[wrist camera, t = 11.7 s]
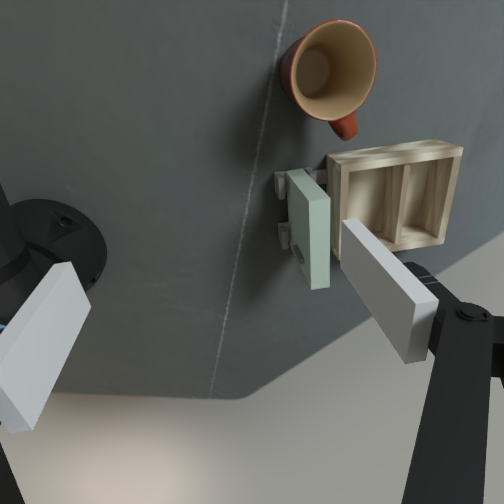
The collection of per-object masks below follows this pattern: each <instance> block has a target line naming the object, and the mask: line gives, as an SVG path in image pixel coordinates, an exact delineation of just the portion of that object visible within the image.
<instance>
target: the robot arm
mask: <svg viewBox="0 0 504 504" xmlns="http://www.w3.org/2000/svg"><path fill="white" fill-rule="evenodd" d="M106 261H107V248H106V244H105V241H104V238H103V236H102V234H101V233H100V231H99V229H98V228H97V227H96V226H95V224H94V223H93V222H92V221H91V220H90V219H89V218H88V217H86V216H85V215H84V214H82V213H81V212H79V211H78V210H76V209H74V208H72V207H70V206H68V205H66V204H63V203H60V202H56V201H52V200H45V199H32V200H25V201H21V202H18V203H16V204H13V205H12V206H10V205H9V203H8V200H7V198H6V196H5V193H4V191H3V189H2V186H1V184H0V424H2V426H3V427H4V428H5V429H6V430H7V432H8V433H9V434H14V433H19V432H25V431H31V430H33V428H34V426H35V424H36V422H37V420H38V418H39V416H40V414H41V412H42V409H43V407H44V405H45V403H46V401H47V399H48V397H49V395H50V393H51V391H52V388H53V386H54V384H55V382H56V380H57V378H58V376H59V374H60V372H61V369H62V367H63V365H64V363H65V361H66V359H67V357H68V355H69V353H70V351H71V348H72V346H73V344H74V342H75V340H76V338H77V336H78V334H79V332H80V329H81V327H82V325H83V323H84V321H85V319H86V317H87V315H88V313H89V311H90V308H91V306H90V303H89V301H88V299H87V297H86V294H85V292H86V291H87V290H88V289H90V288H91V287H92V286H93V285H94V284H95V283H96V282H97V280H98V279H99V277H100V275H101V273H102V271H103V269H104V267H105V265H106ZM340 268H341V269H342V271H343V272H344V274H345V275H346V277H347V278H348V280H349V281H350V283H351V284H352V286H353V287H354V289H355V290H356V291H357V293H358V294H359V296H360V297H361V299H362V300H363V302H364V303H365V305H366V306H367V308H368V309H369V311H370V312H371V314H372V315H373V317H374V318H375V320H376V321H377V323H378V324H379V326H380V327H381V328H382V330H383V332H384V333H385V335H386V336H387V338H388V339H389V341H390V342H391V344H392V345H393V346H394V348H395V349H396V351H397V352H398V354H399V355H400V357H401V358H402V360H403V361H404V363H405V364H408V363H413V362H419V361H425V360H426V356H427V352H428V348H429V350H430V351H431V352H432V353H433V355H434V356H435V361H434V365H433V369H432V373H431V378H430V382H429V386H428V391H427V395H426V400H425V404H424V408H423V412H422V417H421V421H420V425H419V430H418V434H417V438H416V443H415V447H414V451H413V455H412V460H411V464H410V468H409V473H408V477H407V481H406V486H405V490H404V495H403V499H402V503H401V504H483V497H484V481H485V463H486V447H487V430H488V413H489V397H490V380H491V377H499V378H500V379H501V382H502V385H503V388H504V317H503V316H492V315H491V314H490V313H489V312H488V311H487V310H486V309H484V308H482V307H481V306H478V305H475V304H472V303H466V302H461V301H460V300H458V299H457V298H456V297H455V296H454V295H453V294H452V293H451V292H450V291H449V290H448V289H447V288H445V287H444V286H443V285H442V284H441V283H440V282H438V280H437V279H435V277H433V276H432V275H431V274H430V273H429V272H428V271H427V270H426V269H425V268H424V267H422V266H420V265H418V264H416V263H414V262H406V263H401V262H400V261H399V260H398V259H397V258H396V257H395V256H394V255H393V254H392V253H391V252H390V251H389V250H388V249H387V248H386V247H385V246H384V245H383V244H382V243H381V242H380V241H379V240H378V239H377V238H376V237H375V236H374V235H373V234H372V233H371V232H370V231H369V230H368V229H367V228H366V227H365V226H364V225H363V224H362V223H361V222H360V221H359V220H358V219H357V218H354V219H347V220H342V227H341V259H340ZM0 504H25V502H24V500H23V497H22V495H21V493H20V490H19V488H18V486H17V483H16V480H15V478H14V475H13V473H12V470H11V468H10V465H9V463H8V460H7V458H6V455H5V453H4V451H3V448H2V446H1V443H0Z"/></svg>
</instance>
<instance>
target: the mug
mask: <svg viewBox="0 0 504 504" xmlns="http://www.w3.org/2000/svg"><path fill="white" fill-rule="evenodd" d="M376 69H377V59H376V52H375V48H374V45H373V43H372V41H371V39H370V37H369V36H368V34H367V33H366V32H365V31H364V30H363V29H362V28H361V27H360V26H358V25H357V24H355V23H353V22H350V21H346V20H330V21H327V22H324V23H322V24H320V25H318V26H316V27H315V28H313V29H312V30H311V31H310V32H308V33H307V34H306V35H305V36H304V37H302V38H300V39H298V40H297V41H296V42H294V43H293V44H292V45H291V46H290V47H289V49H288V50H287V51H286V53H285V55H284V56H283V58H282V61H281V68H280V80H281V84H282V87H283V89H284V91H285V93H286V95H287V96H288V97H289V98H290V100H292V101H293V102H294V103H296V104H298V106H299V107H300V108H301V109H302V110H303V111H304V112H305V113H306V114H307V115H309V116H310V117H312V118H315V119H317V120H321V121H328V122H329V124H330V126H331V128H332V129H333V131H334V132H335V133H336V135H337V136H338V137H339V138H340V139H342V140H344V141H349V140H351V139H353V138H355V137H356V136H357V134H358V127H357V123H356V118H355V111H356V110H357V109H358V108H359V107H360V106H361V105H362V104H363V103H364V101H365V100H366V98H367V97H368V95H369V93H370V91H371V89H372V86H373V84H374V80H375V76H376Z"/></svg>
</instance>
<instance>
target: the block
mask: <svg viewBox="0 0 504 504" xmlns="http://www.w3.org/2000/svg"><path fill="white" fill-rule="evenodd" d="M286 183H287V200H288V217H289V234H290V246H291V248H292V250H293V253H294V255H295V257H296V259H297V261H298V263H299V265H300V267H301V269H302V272H303V274H304V276H305V278H306V280H307V282H308V284H309V286H310V288H311V290H313V289H319V288H325V287H330V197H329V196H328V195H327V194H326V193H325V192H324V191H323V190H322V189H321V188H320V187H319V186H318V184H317V183H316V182H315V181H314V180H313V179H312V178H311V177H310V176H309V175H308V174H307V173H306V172H305V171H304V170H303V169H297V170H290V171H286Z"/></svg>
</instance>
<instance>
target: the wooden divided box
mask: <svg viewBox="0 0 504 504" xmlns="http://www.w3.org/2000/svg"><path fill="white" fill-rule="evenodd" d="M462 152H463V148H462V147H459V146H456V145H453V144H450V143H446V142H443V141H440V140H437V139H431V140H424V141H417V142H410V143H403V144H396V145H389V146H381V147H374V148H367V149H360V150H353V151H346V152H339V153H332V154H326V168H325V169H318V170H312V169H311V168H310V167H307V168H300V169H303V170H304V171H305V172H306V173H307V174H308V175H309V176H310V177H311V178H312V179H313V180H314V181H315V182H316V183H317V184H318V185H320V184H326V194H327V195H328V196H329V197H330V248H331V250H332V251H333V253H334V254H335V255H336V257H337V258H338V260H340V259H341V227H342V220H347V219H354V218H357V219H358V220H359V221H360V222H361V223H362V224H363V225H364V226H365V227H366V228H367V229H368V230H369V231H370V232H371V233H372V234H373V235H374V236H375V237H376V238H377V239H378V240H379V241H380V242H381V243H382V244H383V245H384V246H385V247H386V248H387V249H388V250H389V251H390V252H394V251H400V250H406V249H413V248H419V247H425V246H432V245H438V244H444V239H445V234H446V229H447V224H448V219H449V215H450V210H451V205H452V200H453V195H454V190H455V185H456V181H457V176H458V171H459V166H460V161H461V156H462ZM293 170H297V169H293ZM286 171H290V170H286ZM286 171H279V172H274V179H275V192H276V194H277V196H278V198H279V199H280V200H281V199H285V192H287V183H286ZM278 232H279V241H280V244H281V246H282V248H283V250H285V249H288V241H290V234H289V222H283V223H278Z"/></svg>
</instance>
